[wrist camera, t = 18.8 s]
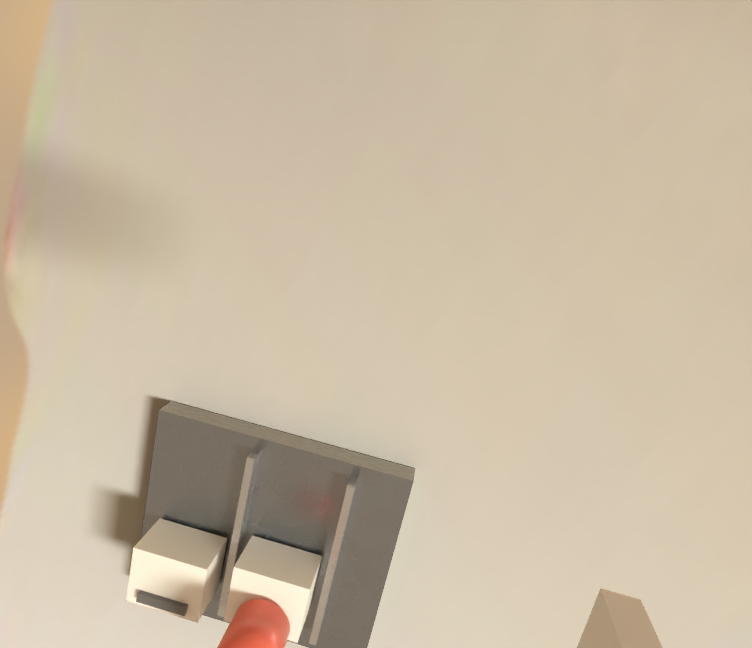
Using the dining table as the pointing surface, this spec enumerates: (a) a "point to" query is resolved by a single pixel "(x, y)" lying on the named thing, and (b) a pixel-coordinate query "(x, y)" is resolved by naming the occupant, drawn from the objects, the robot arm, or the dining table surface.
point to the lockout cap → (257, 626)
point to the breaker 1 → (176, 569)
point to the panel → (283, 509)
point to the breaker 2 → (275, 580)
